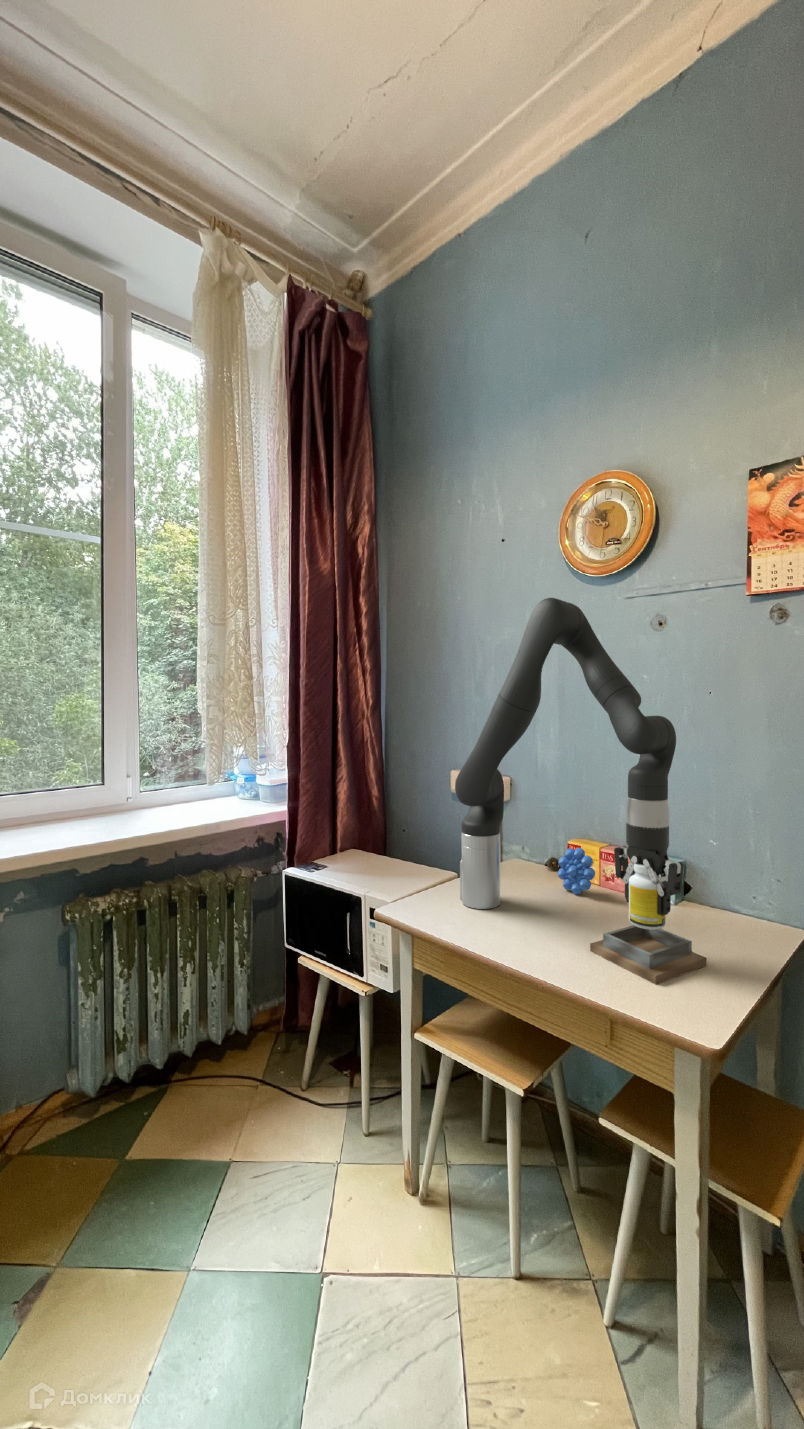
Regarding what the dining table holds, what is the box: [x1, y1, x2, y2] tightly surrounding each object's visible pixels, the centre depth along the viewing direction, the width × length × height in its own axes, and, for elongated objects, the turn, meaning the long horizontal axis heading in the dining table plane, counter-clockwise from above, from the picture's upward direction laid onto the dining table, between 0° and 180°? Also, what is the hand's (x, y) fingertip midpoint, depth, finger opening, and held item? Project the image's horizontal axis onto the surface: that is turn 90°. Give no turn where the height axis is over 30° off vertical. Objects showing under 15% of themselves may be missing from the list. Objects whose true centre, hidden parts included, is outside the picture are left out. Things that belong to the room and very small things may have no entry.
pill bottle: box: [628, 863, 666, 930], centre depth 112 cm, size 6×6×12 cm
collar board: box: [589, 924, 708, 985], centre depth 112 cm, size 15×14×4 cm
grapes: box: [557, 847, 596, 895], centre depth 148 cm, size 12×7×12 cm, turn 30°
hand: (646, 908), depth 112 cm, fingers closed on pill bottle, 6 cm apart
